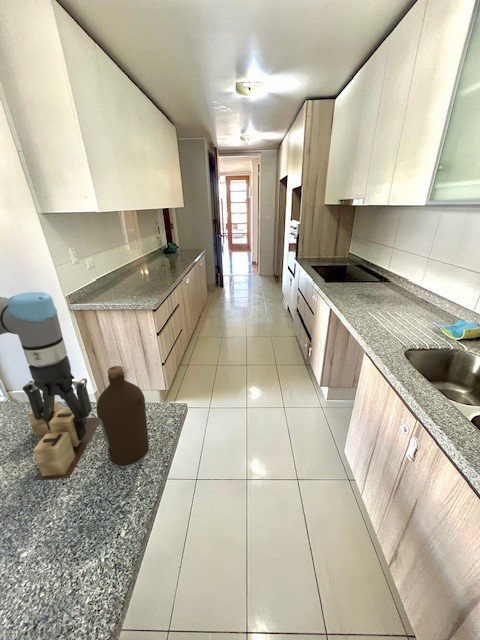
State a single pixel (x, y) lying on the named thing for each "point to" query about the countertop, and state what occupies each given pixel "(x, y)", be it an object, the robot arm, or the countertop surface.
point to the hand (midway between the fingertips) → (71, 437)
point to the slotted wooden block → (40, 422)
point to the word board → (75, 450)
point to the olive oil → (123, 419)
